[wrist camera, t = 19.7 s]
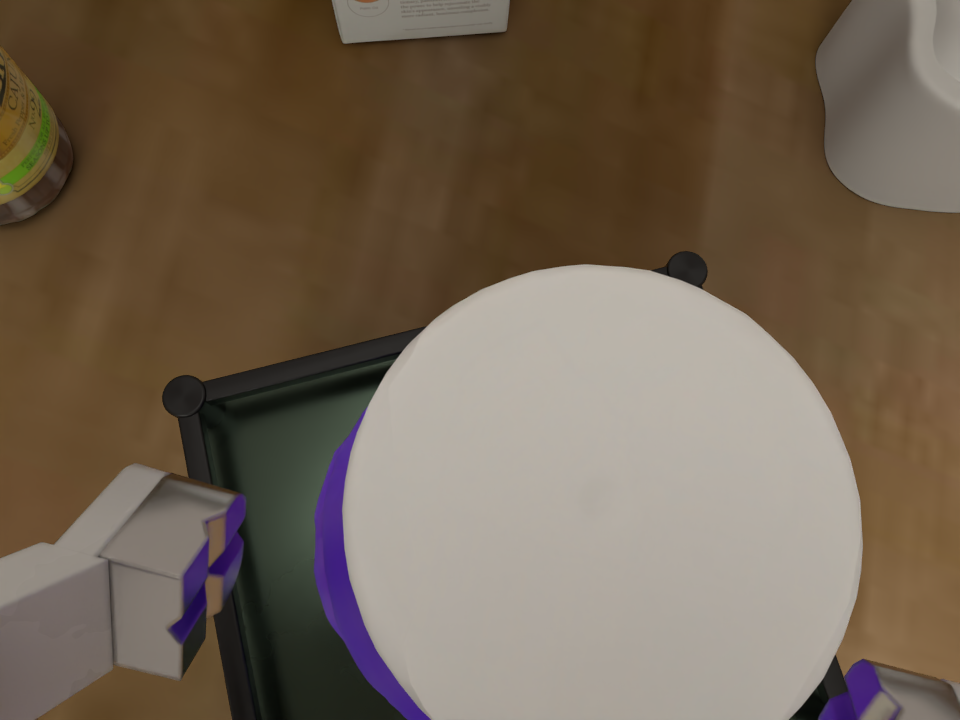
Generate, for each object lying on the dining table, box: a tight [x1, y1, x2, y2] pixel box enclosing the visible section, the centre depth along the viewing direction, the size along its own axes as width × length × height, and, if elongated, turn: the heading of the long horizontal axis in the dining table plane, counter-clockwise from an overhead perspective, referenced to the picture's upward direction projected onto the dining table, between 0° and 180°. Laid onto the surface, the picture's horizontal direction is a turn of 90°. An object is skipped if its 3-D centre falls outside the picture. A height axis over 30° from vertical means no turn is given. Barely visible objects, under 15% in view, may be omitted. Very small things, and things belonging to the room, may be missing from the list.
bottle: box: [314, 264, 863, 720], centre depth 14 cm, size 7×6×17 cm
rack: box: [162, 251, 848, 720], centre depth 26 cm, size 16×14×11 cm
